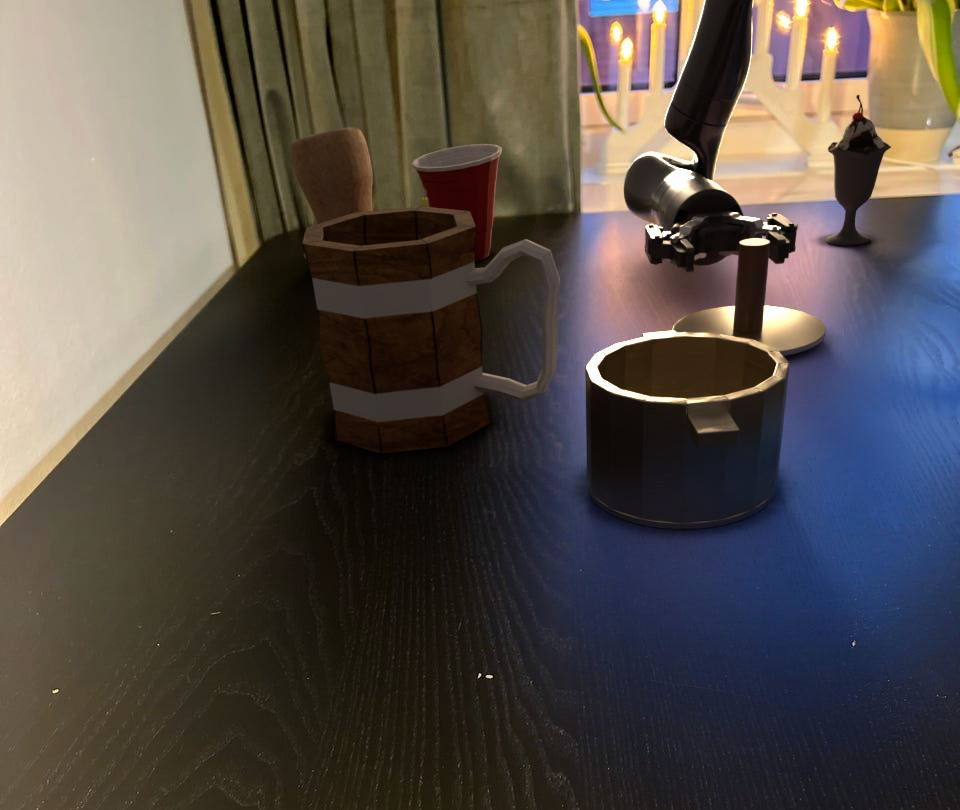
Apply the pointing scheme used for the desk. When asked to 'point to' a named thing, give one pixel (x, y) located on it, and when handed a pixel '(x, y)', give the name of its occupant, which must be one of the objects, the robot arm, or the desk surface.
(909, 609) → the desk surface
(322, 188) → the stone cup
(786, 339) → the lid
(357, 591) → the desk surface
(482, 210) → the plastic cup
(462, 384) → the mug
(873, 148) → the sundae
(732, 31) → the robot arm
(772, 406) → the pot
